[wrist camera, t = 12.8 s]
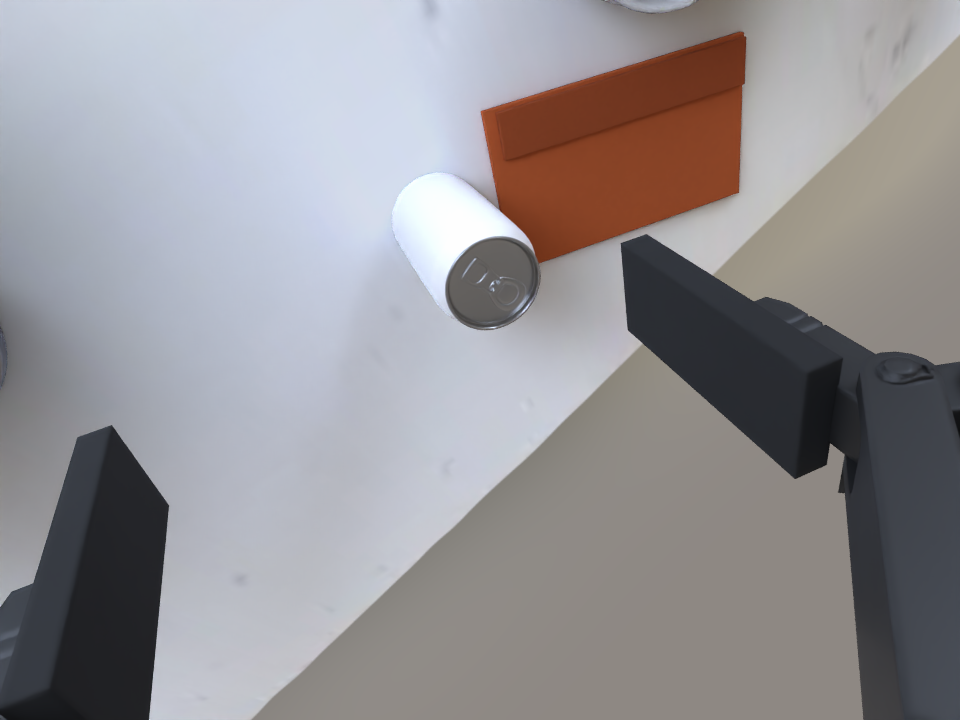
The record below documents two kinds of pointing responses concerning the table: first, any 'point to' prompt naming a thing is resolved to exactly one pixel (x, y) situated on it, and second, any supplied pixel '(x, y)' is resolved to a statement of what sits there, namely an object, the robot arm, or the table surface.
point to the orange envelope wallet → (620, 147)
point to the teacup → (653, 5)
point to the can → (466, 251)
